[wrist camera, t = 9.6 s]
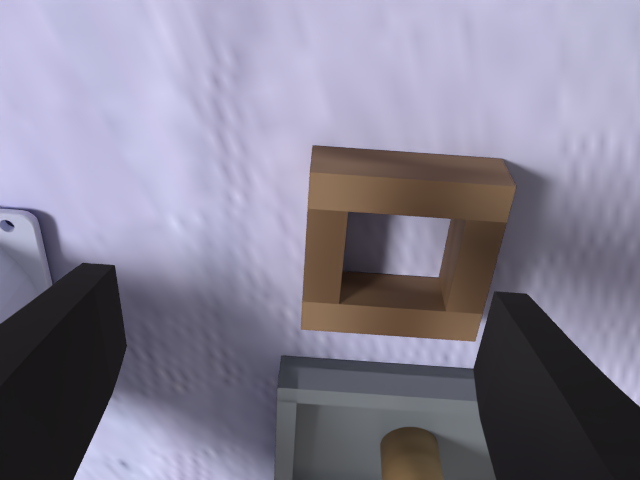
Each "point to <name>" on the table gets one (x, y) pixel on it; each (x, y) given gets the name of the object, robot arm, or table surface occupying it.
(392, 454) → the pin
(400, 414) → the tray
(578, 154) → the table surface
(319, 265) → the socket
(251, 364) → the table surface
